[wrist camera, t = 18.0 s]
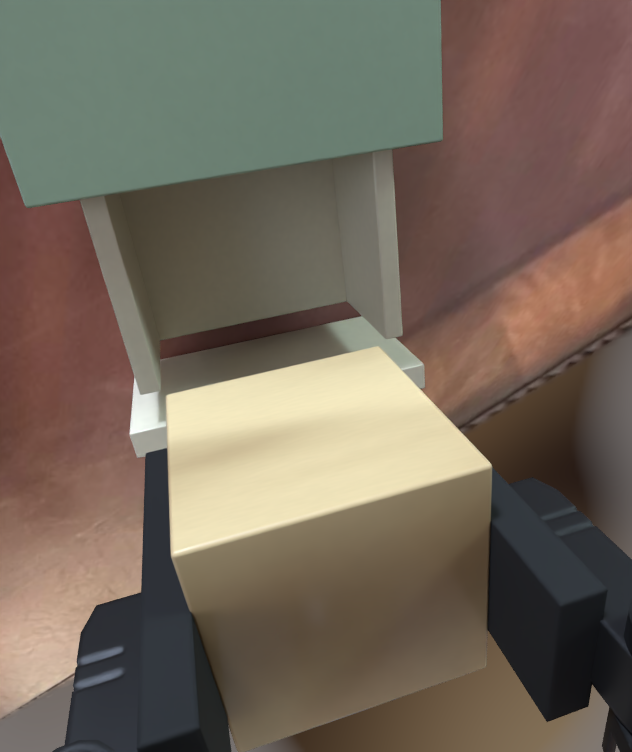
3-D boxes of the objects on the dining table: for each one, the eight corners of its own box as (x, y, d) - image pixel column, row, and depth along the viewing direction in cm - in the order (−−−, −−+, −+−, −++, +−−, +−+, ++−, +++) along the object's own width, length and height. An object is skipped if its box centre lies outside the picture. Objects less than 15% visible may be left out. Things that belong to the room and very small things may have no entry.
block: (392, 508, 15) (487, 668, 11) (213, 559, 14) (238, 756, 10) (379, 344, 13) (494, 463, 8) (164, 393, 12) (169, 556, 8)
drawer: (381, 442, 34) (430, 513, 28) (175, 495, 31) (179, 585, 25) (341, -32, 23) (408, -85, 17) (23, 0, 21) (-32, -49, 15)
